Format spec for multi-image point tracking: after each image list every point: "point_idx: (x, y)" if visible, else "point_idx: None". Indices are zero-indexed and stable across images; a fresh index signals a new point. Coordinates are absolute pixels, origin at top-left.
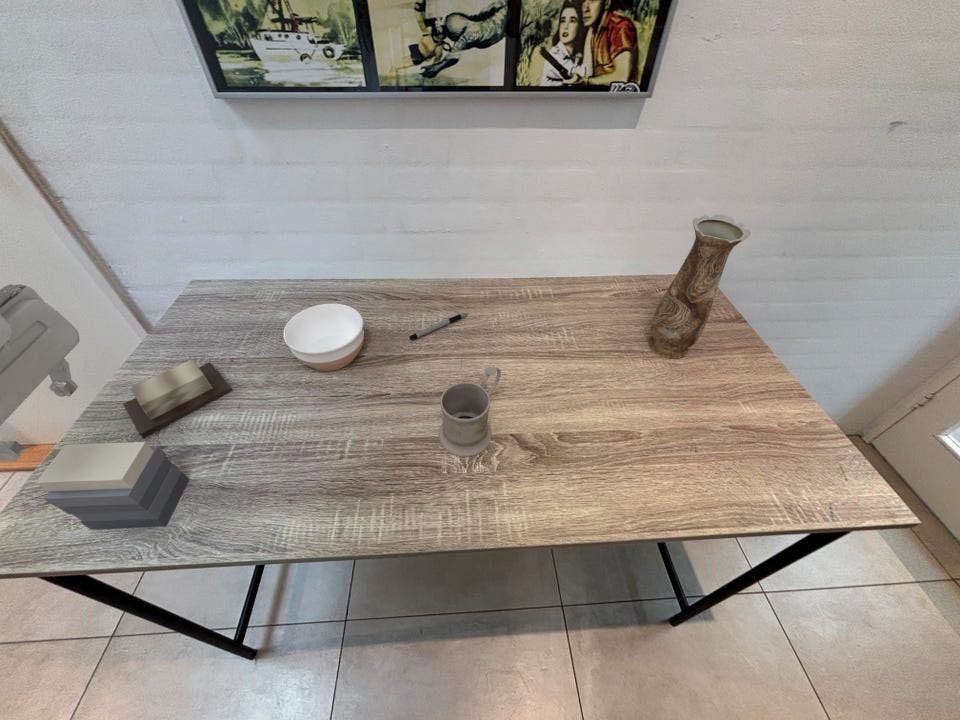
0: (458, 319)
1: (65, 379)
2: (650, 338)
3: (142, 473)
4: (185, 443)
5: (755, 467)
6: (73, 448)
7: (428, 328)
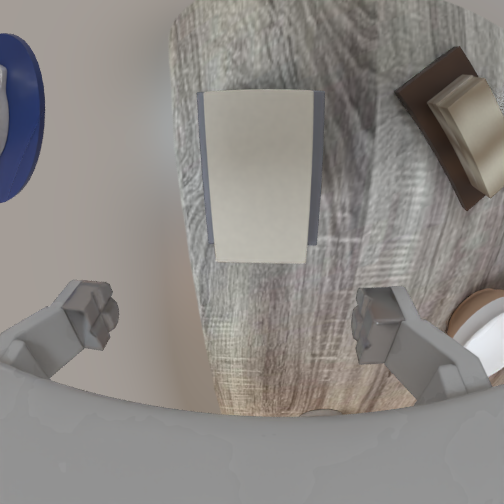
0: None
1: (393, 368)
2: None
3: None
4: (376, 165)
5: None
6: (299, 118)
7: None
